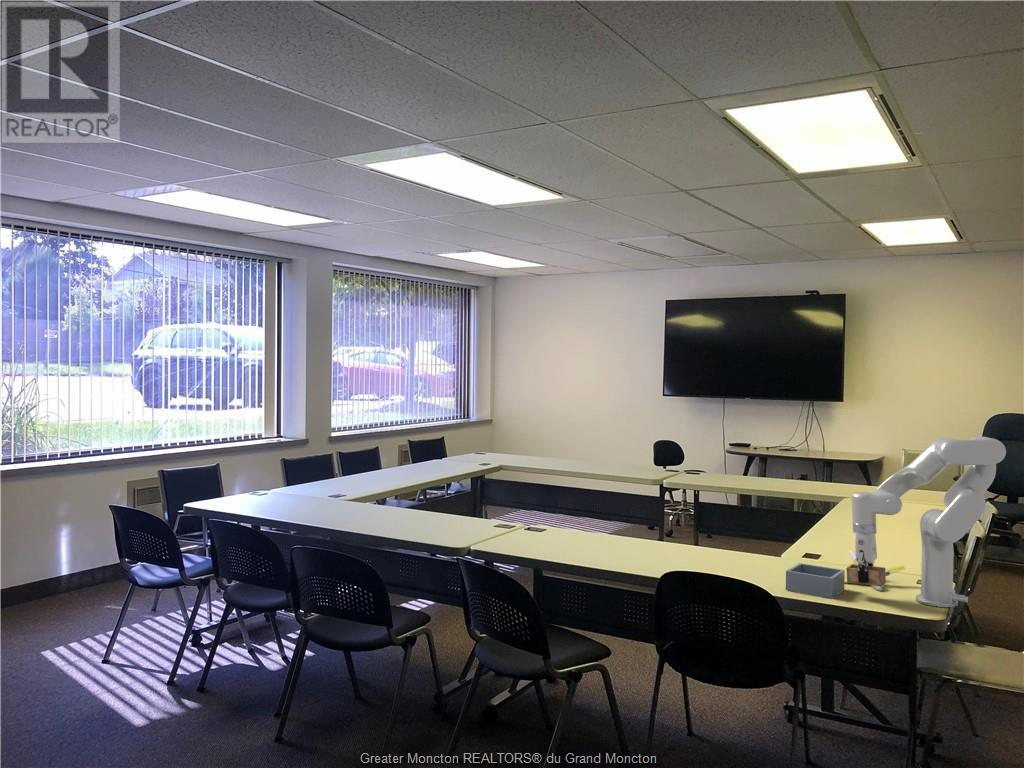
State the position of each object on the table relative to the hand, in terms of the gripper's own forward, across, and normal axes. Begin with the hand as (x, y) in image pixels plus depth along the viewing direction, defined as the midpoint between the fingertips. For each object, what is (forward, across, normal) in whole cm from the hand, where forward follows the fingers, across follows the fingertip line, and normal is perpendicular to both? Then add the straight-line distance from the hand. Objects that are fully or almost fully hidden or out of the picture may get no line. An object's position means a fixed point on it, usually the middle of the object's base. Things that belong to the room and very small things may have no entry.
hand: (866, 579), depth 268 cm
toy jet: (+7, +23, +6) cm, 25 cm away
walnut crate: (+1, 0, 0) cm, 1 cm away
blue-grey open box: (+6, -1, +17) cm, 18 cm away
